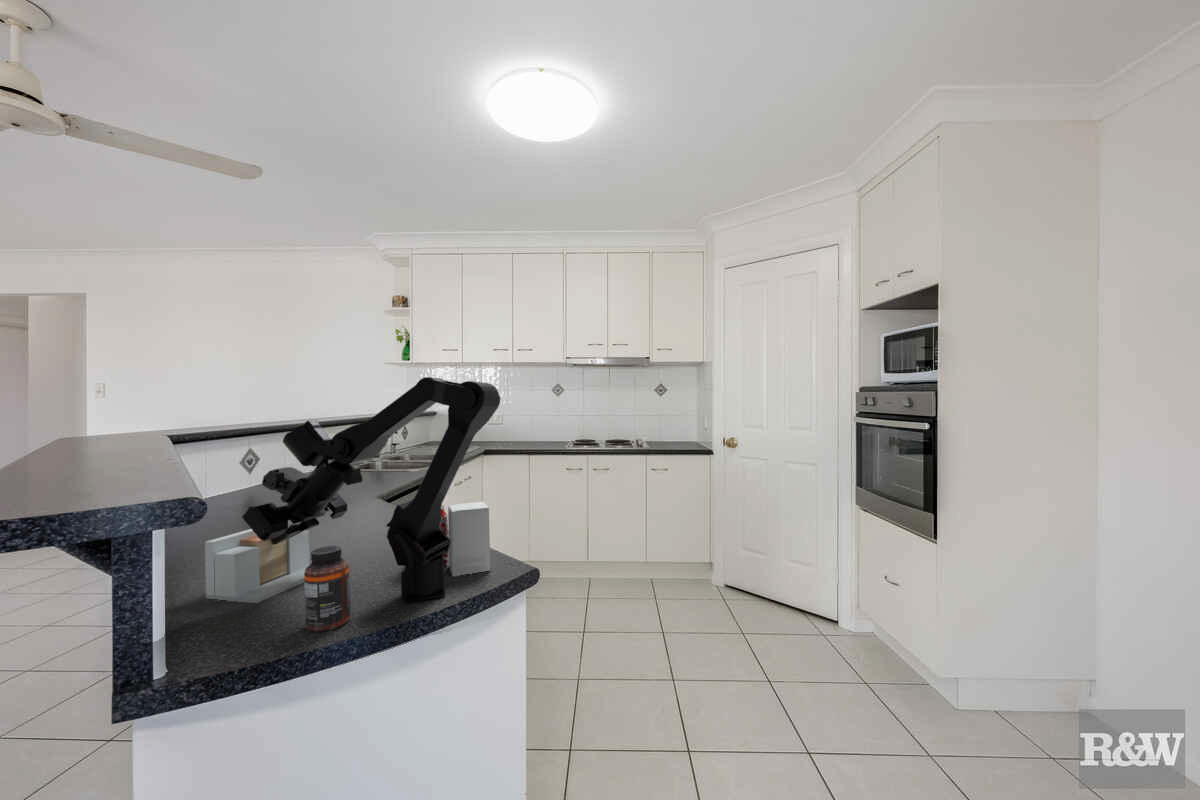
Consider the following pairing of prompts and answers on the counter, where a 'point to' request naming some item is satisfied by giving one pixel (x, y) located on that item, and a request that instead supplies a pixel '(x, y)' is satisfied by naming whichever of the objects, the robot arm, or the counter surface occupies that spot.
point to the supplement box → (469, 538)
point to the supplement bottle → (327, 590)
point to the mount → (250, 568)
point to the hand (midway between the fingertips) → (273, 542)
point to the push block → (269, 557)
